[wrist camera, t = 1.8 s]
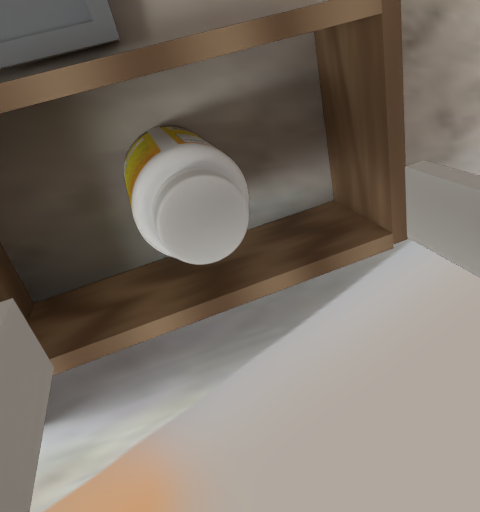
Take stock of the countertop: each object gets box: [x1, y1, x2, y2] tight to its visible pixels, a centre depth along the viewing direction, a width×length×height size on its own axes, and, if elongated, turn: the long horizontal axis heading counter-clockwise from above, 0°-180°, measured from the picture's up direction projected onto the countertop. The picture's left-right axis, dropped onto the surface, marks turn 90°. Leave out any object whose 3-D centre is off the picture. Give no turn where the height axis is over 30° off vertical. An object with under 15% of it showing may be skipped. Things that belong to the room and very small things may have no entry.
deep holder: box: [0, 0, 408, 375], centre depth 23 cm, size 24×14×7 cm, turn 103°
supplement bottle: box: [124, 126, 249, 265], centre depth 21 cm, size 6×6×10 cm
